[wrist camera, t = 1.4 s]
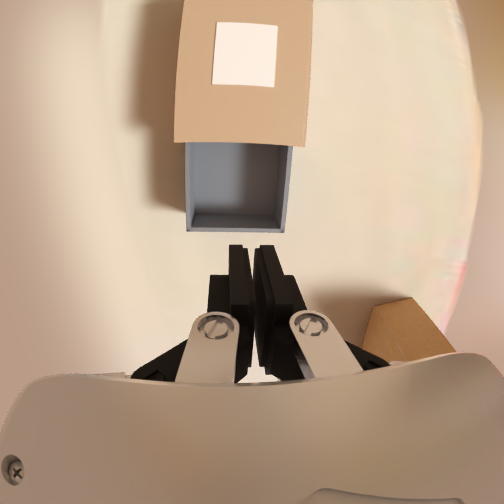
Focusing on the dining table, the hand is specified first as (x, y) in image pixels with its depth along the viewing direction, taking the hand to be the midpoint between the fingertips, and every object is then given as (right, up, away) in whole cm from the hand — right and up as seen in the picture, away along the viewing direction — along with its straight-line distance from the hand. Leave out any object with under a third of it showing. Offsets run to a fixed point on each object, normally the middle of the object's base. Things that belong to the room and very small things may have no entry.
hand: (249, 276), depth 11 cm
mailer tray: (-1, +12, +15) cm, 19 cm away
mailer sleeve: (-1, +20, +11) cm, 23 cm away
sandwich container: (+24, -14, +31) cm, 41 cm away
